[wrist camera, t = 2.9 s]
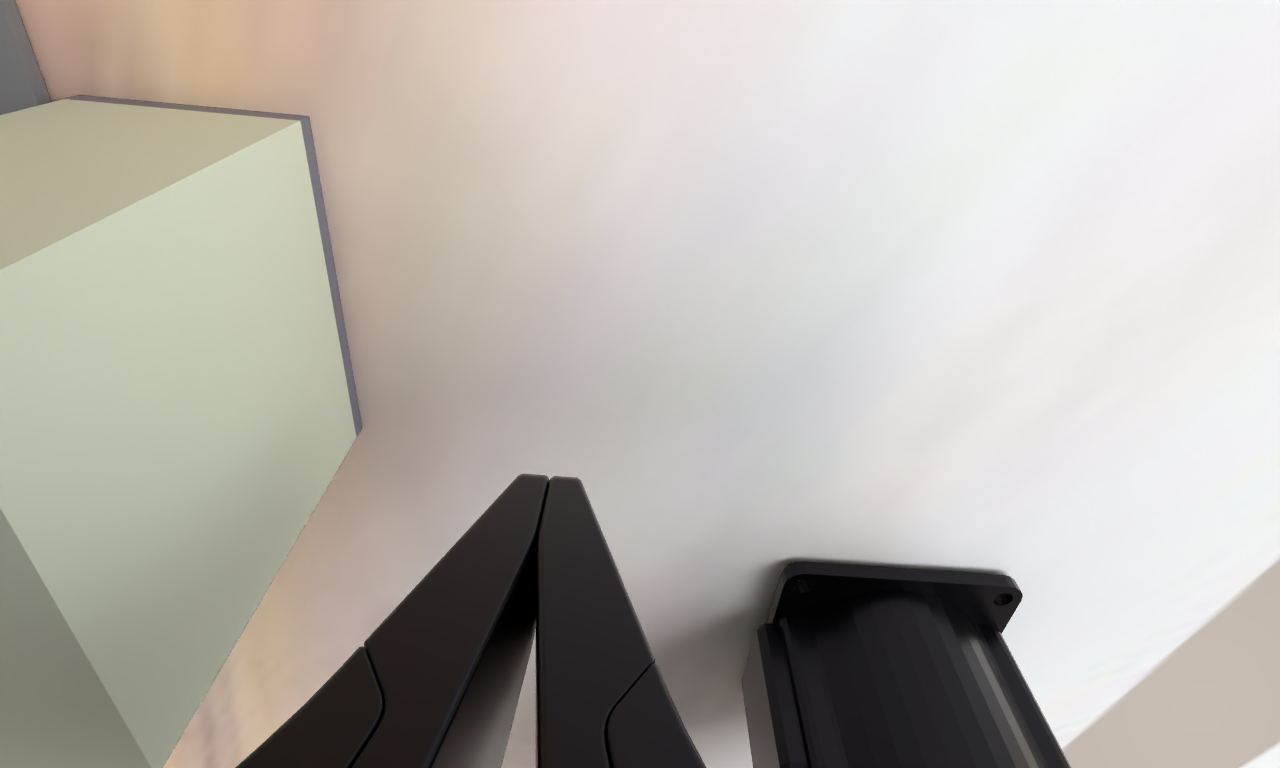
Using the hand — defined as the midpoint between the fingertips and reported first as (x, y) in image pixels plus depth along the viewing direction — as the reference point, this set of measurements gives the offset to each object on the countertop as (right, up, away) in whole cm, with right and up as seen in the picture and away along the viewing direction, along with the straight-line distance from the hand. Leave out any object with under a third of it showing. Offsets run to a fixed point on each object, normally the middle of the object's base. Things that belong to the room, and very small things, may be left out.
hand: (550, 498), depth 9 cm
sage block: (-7, +4, +4) cm, 9 cm away
